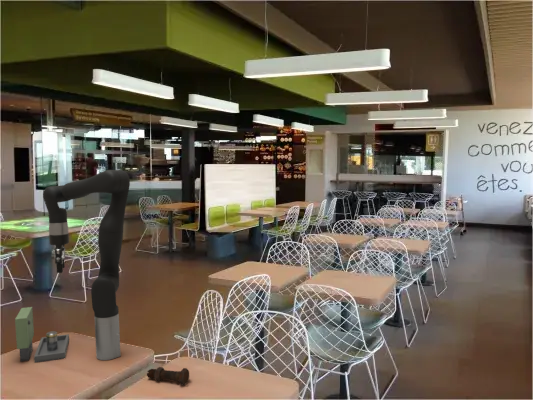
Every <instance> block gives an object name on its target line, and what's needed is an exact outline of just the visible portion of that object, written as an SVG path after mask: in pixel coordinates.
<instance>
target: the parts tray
mask: <svg viewBox="0 0 533 400" xmlns="http://www.w3.org/2000/svg"><path fill="white" fill-rule="evenodd" d="M69 342H70V334H61V335H57V343H58V349H57V350H55V351H47V337H46V336H45V337H43V336H42V337H40V341H39V343H38V346H37V348H36V351H35V353H34V355H33V356H34V359H33V361H34V363H43V362H50V361H56V360H57V361H58V360H65V359H66V357H67V352H68V351H67V350H68V346H69ZM64 358H65V359H64Z"/></svg>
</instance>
